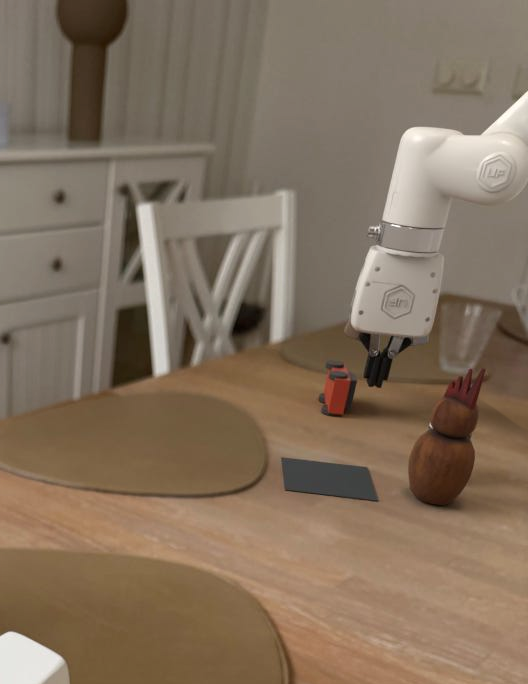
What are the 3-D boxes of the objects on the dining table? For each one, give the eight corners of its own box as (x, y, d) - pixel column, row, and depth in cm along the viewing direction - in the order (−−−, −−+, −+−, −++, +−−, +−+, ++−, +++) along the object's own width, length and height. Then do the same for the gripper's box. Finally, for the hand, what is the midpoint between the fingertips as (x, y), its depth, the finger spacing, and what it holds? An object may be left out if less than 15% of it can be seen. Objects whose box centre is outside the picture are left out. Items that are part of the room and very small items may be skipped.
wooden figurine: (469, 511, 106) (512, 374, 98) (418, 510, 105) (457, 372, 97) (442, 486, 111) (481, 355, 103) (394, 485, 111) (429, 352, 103)
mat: (367, 467, 115) (367, 467, 115) (377, 501, 107) (377, 500, 107) (281, 457, 116) (281, 457, 116) (285, 490, 108) (285, 489, 108)
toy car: (350, 418, 130) (360, 378, 127) (321, 415, 131) (330, 375, 128) (344, 400, 137) (353, 361, 134) (317, 397, 137) (325, 358, 134)
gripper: (351, 238, 119) (319, 386, 129) (477, 250, 118) (435, 399, 127) (345, 228, 126) (315, 370, 135) (464, 240, 124) (425, 382, 134)
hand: (373, 384), depth 131 cm, fingers closed
